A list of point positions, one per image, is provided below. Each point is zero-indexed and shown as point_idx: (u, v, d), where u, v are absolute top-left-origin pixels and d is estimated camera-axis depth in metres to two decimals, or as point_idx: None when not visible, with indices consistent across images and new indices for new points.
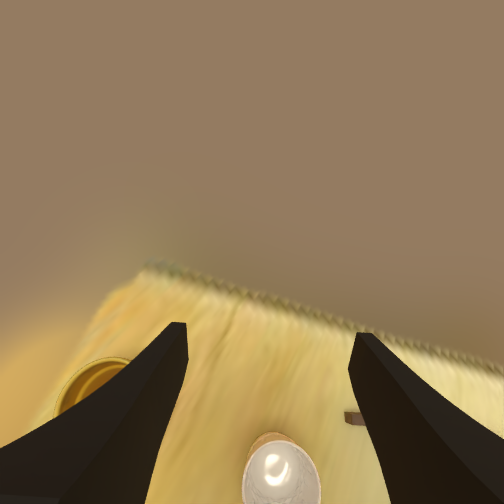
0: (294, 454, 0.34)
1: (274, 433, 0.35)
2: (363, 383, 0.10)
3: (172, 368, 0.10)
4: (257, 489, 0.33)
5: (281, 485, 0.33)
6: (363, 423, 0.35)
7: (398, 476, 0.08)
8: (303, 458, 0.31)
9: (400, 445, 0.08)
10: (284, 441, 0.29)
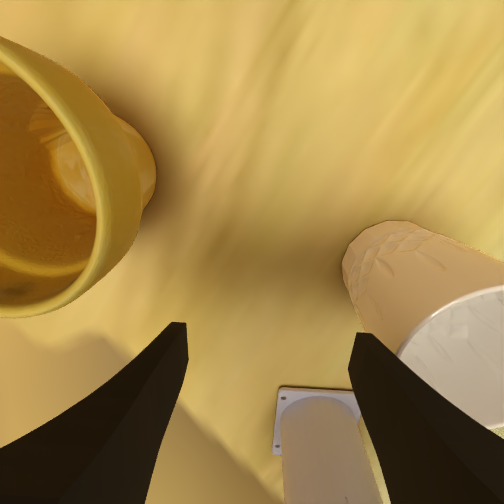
0: None
1: (419, 230, 0.16)
2: (363, 383, 0.10)
3: (172, 368, 0.10)
4: None
5: None
6: None
7: (398, 476, 0.08)
8: None
9: (400, 445, 0.08)
10: None
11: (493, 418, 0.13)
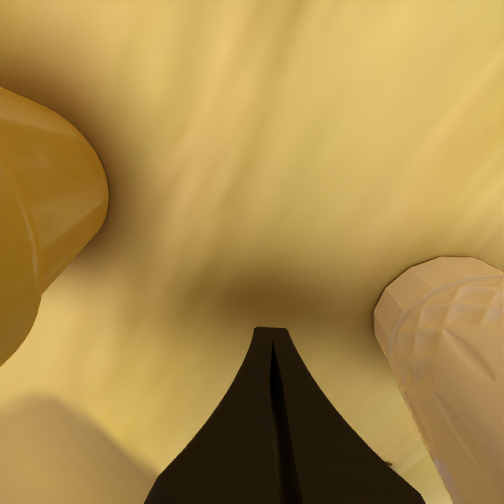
0: None
1: None
2: (271, 378, 0.10)
3: None
4: None
5: None
6: None
7: (278, 469, 0.08)
8: None
9: (280, 437, 0.08)
10: None
11: None
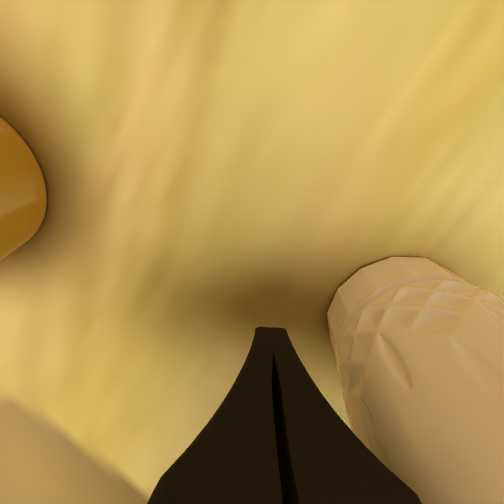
0: None
1: (448, 283, 0.10)
2: None
3: None
4: None
5: None
6: None
7: None
8: None
9: (277, 437, 0.08)
10: None
11: None
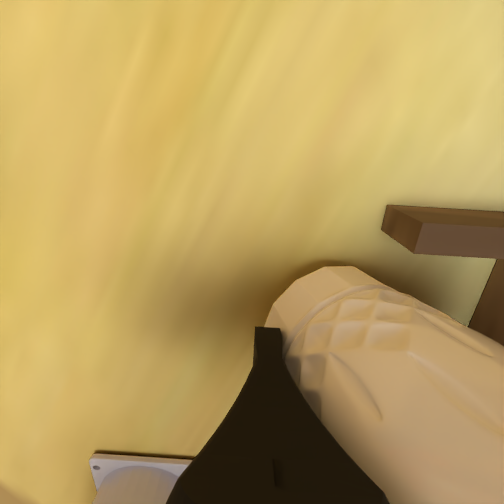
0: None
1: (383, 292, 0.10)
2: None
3: None
4: None
5: None
6: (453, 250, 0.10)
7: None
8: None
9: None
10: None
11: None
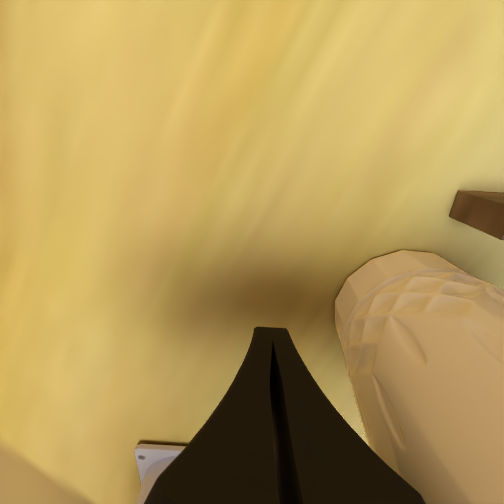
0: None
1: (458, 275, 0.11)
2: (271, 378, 0.10)
3: None
4: None
5: None
6: None
7: (278, 469, 0.08)
8: None
9: (280, 438, 0.08)
10: None
11: None
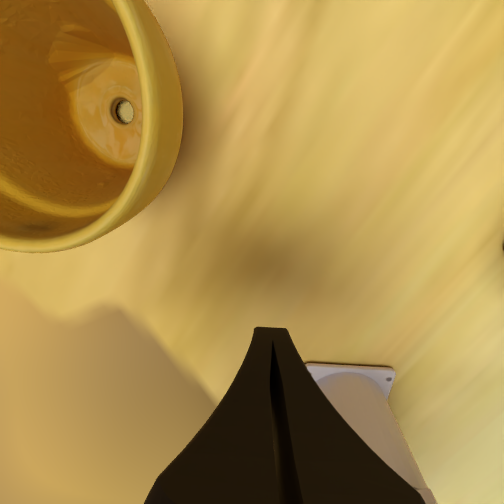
0: None
1: None
2: (271, 378, 0.10)
3: None
4: None
5: None
6: None
7: (278, 469, 0.08)
8: None
9: (279, 438, 0.08)
10: None
11: None
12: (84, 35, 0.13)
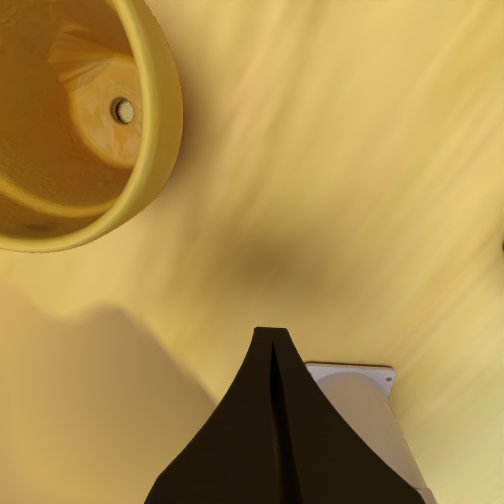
0: None
1: None
2: (271, 378, 0.10)
3: None
4: None
5: None
6: None
7: (278, 469, 0.08)
8: None
9: (279, 438, 0.08)
10: None
11: None
12: (84, 35, 0.13)
